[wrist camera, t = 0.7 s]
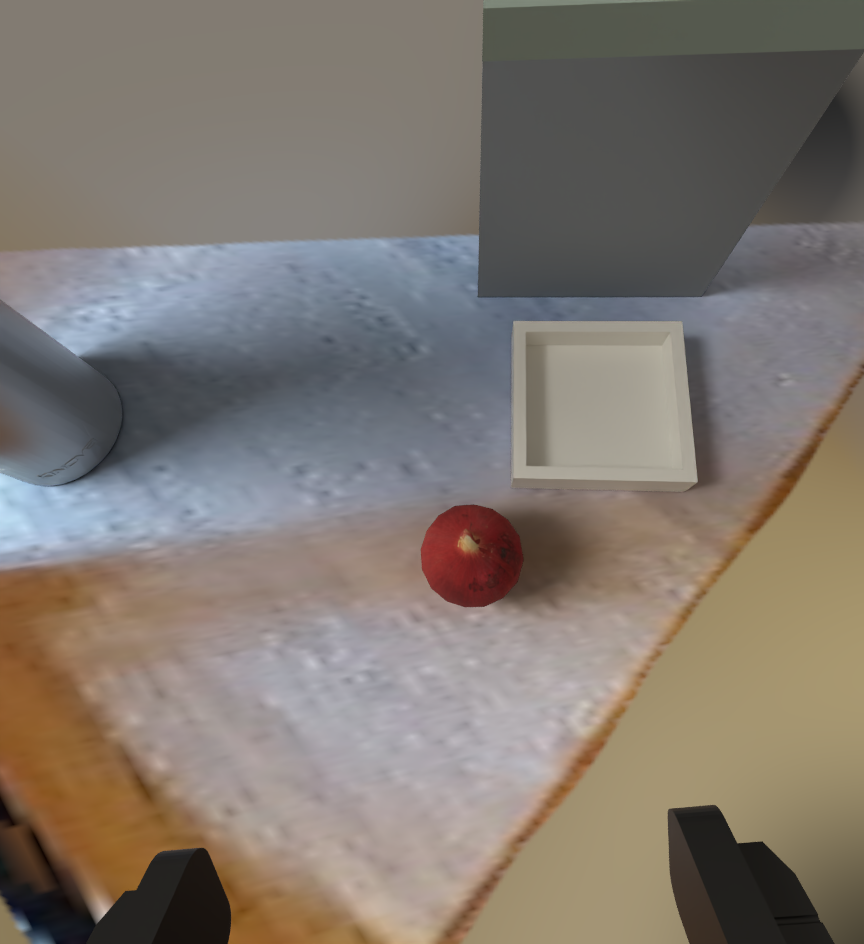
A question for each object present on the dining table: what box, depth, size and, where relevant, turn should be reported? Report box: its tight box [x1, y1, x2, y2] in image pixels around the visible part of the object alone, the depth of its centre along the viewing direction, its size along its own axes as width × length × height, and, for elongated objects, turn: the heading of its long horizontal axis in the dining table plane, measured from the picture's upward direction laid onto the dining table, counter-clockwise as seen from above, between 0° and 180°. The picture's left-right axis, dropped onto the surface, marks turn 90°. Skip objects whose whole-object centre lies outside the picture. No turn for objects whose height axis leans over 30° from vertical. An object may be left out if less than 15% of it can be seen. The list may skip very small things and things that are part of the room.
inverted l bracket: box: [478, 0, 864, 297], centre depth 27 cm, size 12×16×27 cm
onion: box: [421, 505, 523, 607], centre depth 32 cm, size 6×6×8 cm
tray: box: [511, 321, 698, 492], centre depth 37 cm, size 11×11×2 cm
